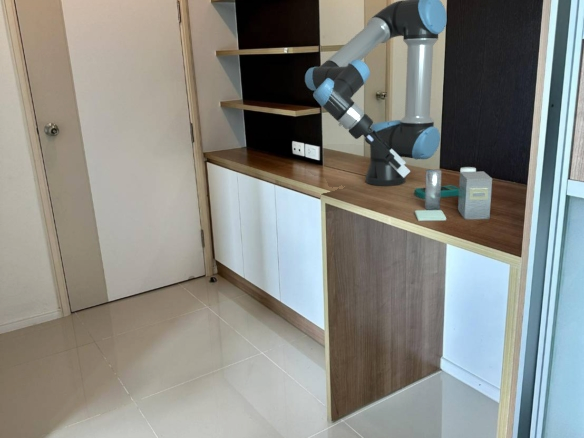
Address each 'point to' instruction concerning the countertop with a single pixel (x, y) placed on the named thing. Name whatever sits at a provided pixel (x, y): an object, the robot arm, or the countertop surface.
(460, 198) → the box
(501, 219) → the countertop surface
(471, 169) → the cream canister
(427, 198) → the clear drinking glass
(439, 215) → the pad
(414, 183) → the countertop surface
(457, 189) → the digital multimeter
